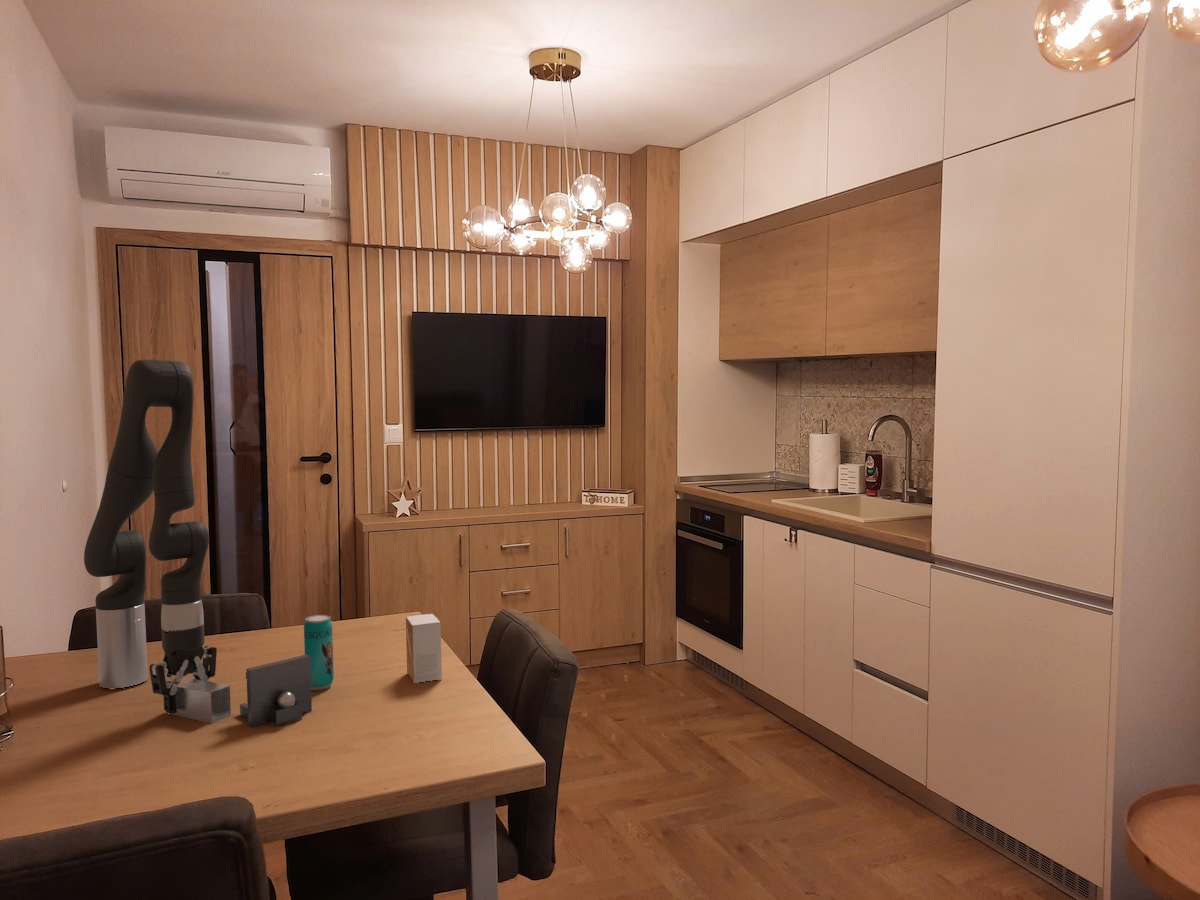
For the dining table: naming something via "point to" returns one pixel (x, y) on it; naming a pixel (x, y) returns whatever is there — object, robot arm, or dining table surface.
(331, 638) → the beverage can
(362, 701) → the dining table surface
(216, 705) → the grey rectangular block
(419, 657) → the small box
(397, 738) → the dining table surface
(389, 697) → the dining table surface
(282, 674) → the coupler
